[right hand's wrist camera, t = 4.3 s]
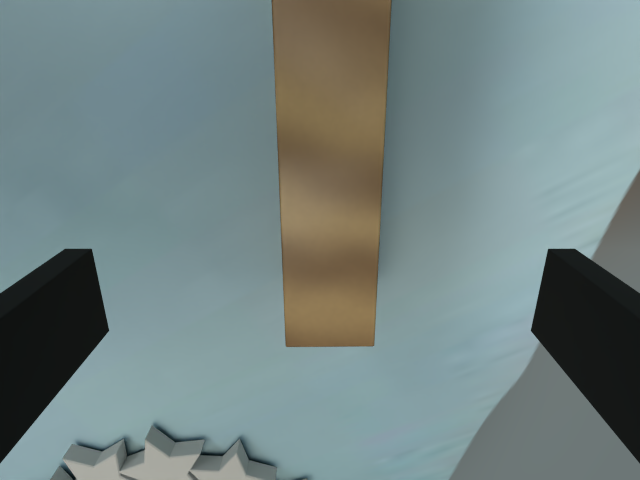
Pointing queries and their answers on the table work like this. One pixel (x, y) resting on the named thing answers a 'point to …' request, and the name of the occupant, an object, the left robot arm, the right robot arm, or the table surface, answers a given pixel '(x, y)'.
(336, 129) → the beam
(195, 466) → the decorative wreath
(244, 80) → the table surface
